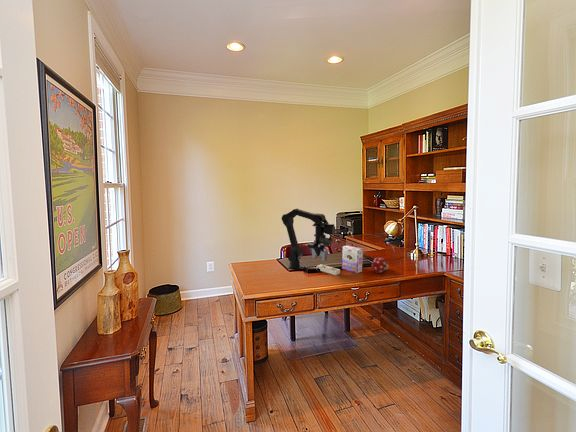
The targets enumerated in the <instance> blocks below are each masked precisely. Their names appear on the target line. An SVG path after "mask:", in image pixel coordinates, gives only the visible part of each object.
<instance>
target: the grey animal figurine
mask: <svg viewBox="0 0 576 432" xmlns="http://www.w3.org/2000/svg"><path fill="white" fill-rule="evenodd" d="M311 257H312V259H317V258H318V257H321V261H323V262H325V261H327V259H328V258H327V257H328V250H319V256H317V255H316V252H315V250H314V249H313V248H311Z"/></svg>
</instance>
